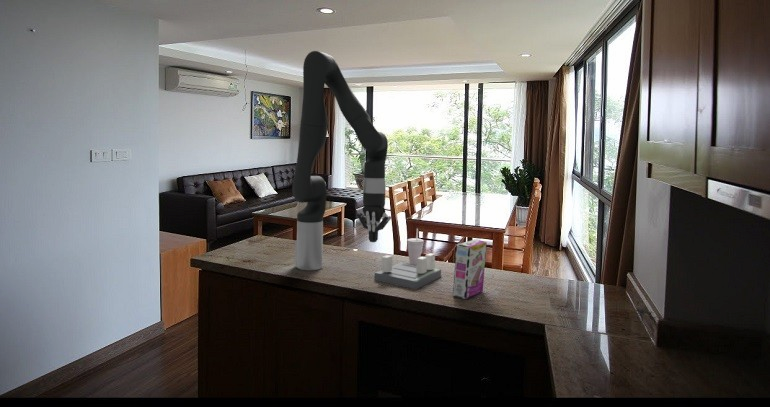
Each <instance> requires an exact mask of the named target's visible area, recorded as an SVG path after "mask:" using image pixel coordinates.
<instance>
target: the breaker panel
mask: <svg viewBox="0 0 770 407" xmlns="http://www.w3.org/2000/svg"><path fill="white" fill-rule="evenodd" d="M435 265H436V253H430V252H429V253H427V254H425V256H421V257H419V258H417V265H414V264H409V262H408V263H407V262H404V261H401V262H399V263H395V264H392V271H389V272H387V273H386V272H382V269H380V270H378V271H376V272H374V279H373V280H374V281H378V282H383V283H386V284H391V285H395V286H400V287H404V288H409V289H413V290H418V289H419V288H422V287H423V286H425V285H427V284H429V283H431V282H433V281H435V280H437V279H438V278H440V277H442V269H439V268H435Z"/></svg>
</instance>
